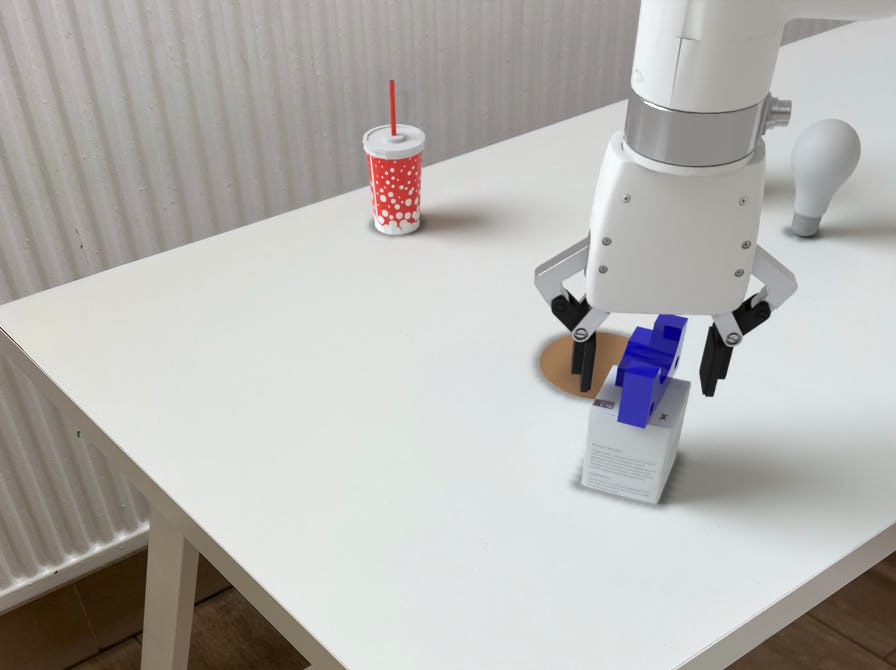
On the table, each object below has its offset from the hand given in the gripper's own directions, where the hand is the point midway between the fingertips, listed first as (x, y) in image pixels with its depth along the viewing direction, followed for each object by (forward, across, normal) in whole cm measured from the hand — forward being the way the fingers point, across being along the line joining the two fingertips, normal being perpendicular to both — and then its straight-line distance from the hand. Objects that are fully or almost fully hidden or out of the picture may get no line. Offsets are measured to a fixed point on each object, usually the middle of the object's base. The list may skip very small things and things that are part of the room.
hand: (645, 382), depth 68 cm
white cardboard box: (+9, 0, 0) cm, 9 cm away
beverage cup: (+9, +22, -38) cm, 45 cm away
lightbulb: (+9, -19, -38) cm, 43 cm away
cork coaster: (+8, +2, -14) cm, 16 cm away
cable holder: (+1, 0, 0) cm, 1 cm away
